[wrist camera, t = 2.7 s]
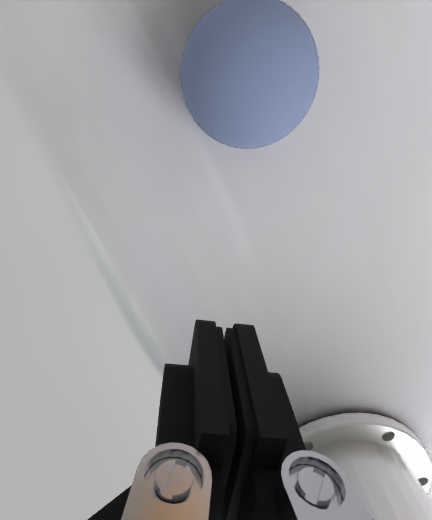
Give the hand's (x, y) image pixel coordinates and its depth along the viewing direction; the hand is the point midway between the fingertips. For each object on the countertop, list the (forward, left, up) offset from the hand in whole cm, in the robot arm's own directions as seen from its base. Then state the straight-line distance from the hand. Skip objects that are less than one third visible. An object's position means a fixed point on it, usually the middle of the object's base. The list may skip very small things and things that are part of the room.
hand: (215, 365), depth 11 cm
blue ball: (+6, -6, -8) cm, 11 cm away
